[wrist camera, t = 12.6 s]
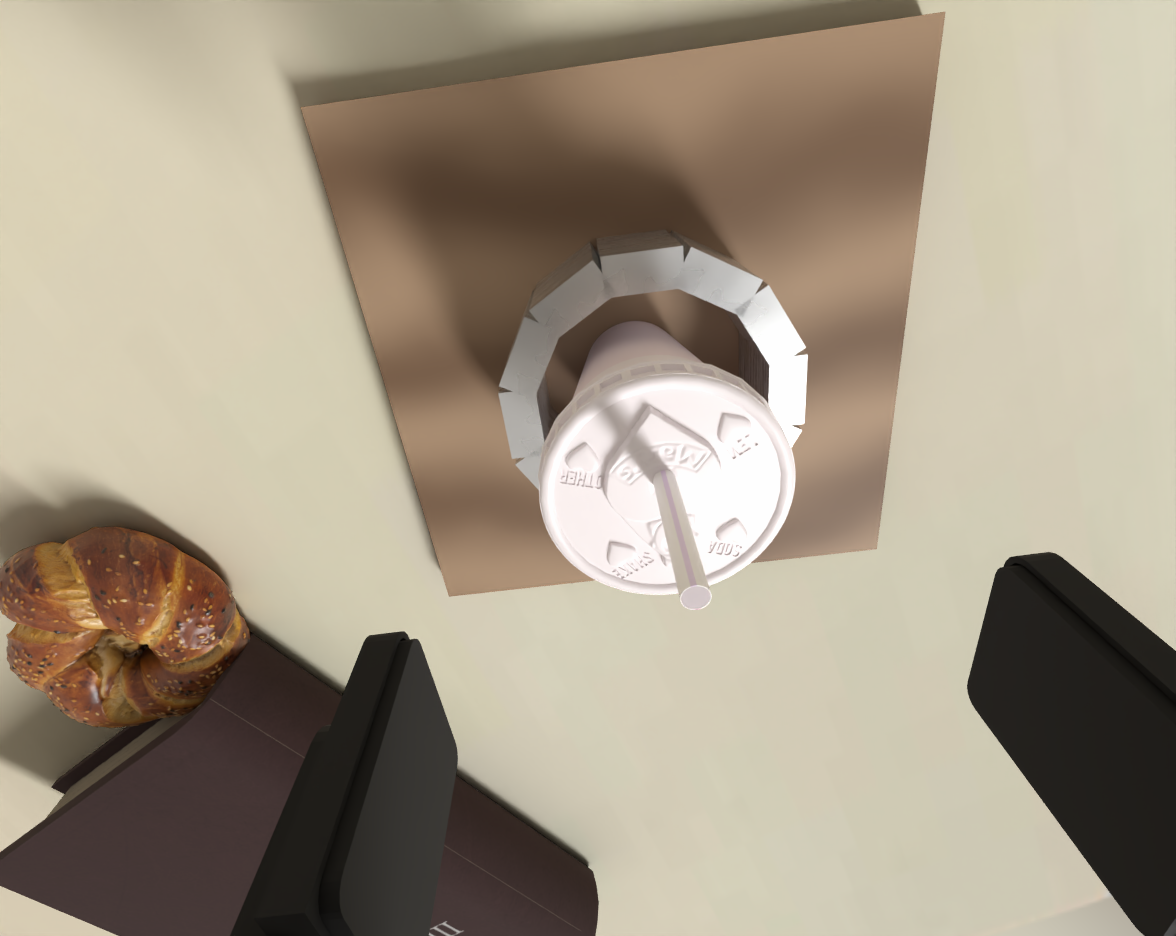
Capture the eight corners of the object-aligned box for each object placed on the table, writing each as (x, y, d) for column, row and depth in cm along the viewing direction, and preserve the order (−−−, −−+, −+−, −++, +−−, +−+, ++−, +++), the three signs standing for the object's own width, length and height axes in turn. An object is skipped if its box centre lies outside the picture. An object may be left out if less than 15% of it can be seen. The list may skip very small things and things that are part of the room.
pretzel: (243, 716, 34) (206, 777, 30) (31, 662, 32) (-33, 722, 28) (279, 560, 28) (240, 614, 25) (27, 482, 26) (-51, 530, 23)
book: (597, 855, 42) (600, 955, 36) (402, 946, 47) (380, 1046, 42) (265, 617, 31) (203, 712, 26) (63, 772, 36) (-22, 876, 31)
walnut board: (315, 109, 20) (300, 107, 19) (924, 19, 19) (945, 11, 18) (453, 580, 29) (449, 596, 28) (865, 534, 28) (876, 548, 27)
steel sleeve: (490, 252, 21) (473, 273, 17) (773, 214, 21) (814, 228, 17) (536, 493, 26) (530, 548, 22) (768, 465, 25) (799, 517, 22)
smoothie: (705, 265, 21) (883, 425, 9) (725, 425, 24) (880, 710, 12) (531, 305, 22) (474, 509, 10) (572, 457, 25) (568, 761, 12)
